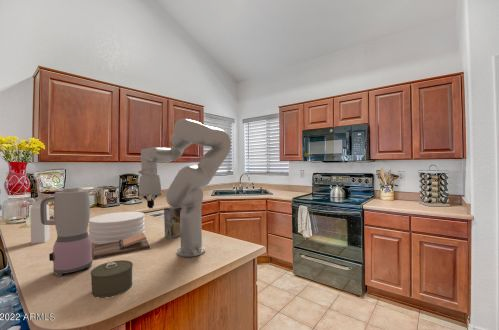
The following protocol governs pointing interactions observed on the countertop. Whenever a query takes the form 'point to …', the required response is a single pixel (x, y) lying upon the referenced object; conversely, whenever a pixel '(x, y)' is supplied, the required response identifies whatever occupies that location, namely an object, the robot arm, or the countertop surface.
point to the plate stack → (115, 226)
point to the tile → (133, 239)
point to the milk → (38, 224)
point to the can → (111, 278)
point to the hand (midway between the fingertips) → (150, 208)
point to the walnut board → (118, 248)
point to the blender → (70, 230)
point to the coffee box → (172, 221)
